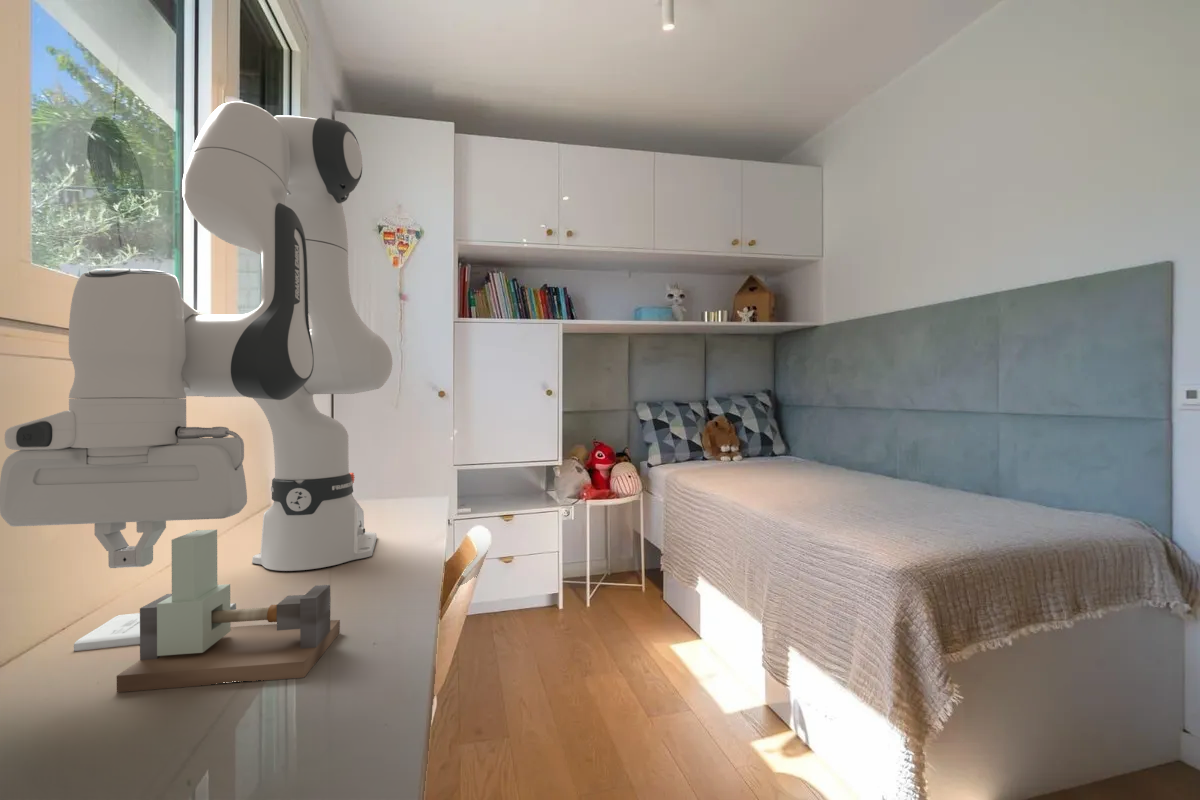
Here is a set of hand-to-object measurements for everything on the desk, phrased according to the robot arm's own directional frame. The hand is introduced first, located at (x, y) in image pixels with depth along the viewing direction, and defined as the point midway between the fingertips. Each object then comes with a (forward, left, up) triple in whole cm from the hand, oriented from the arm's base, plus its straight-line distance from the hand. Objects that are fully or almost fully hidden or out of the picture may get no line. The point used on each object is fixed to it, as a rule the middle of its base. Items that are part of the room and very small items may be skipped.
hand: (131, 566), depth 53 cm
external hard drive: (-10, -3, -11) cm, 15 cm away
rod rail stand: (0, +10, -10) cm, 14 cm away
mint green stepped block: (0, +6, -8) cm, 10 cm away
